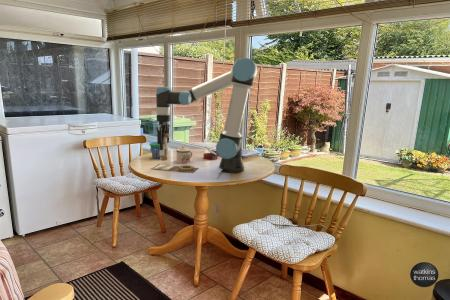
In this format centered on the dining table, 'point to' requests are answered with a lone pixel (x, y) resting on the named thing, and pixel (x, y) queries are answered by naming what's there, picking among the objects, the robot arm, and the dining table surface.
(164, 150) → the carved statue
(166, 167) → the board
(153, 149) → the snack cup
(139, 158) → the dining table surface
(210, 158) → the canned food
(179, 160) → the teacup with lid
